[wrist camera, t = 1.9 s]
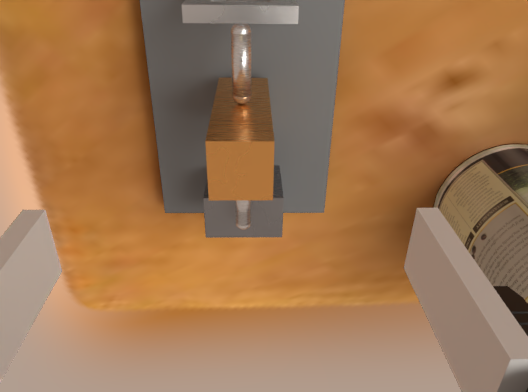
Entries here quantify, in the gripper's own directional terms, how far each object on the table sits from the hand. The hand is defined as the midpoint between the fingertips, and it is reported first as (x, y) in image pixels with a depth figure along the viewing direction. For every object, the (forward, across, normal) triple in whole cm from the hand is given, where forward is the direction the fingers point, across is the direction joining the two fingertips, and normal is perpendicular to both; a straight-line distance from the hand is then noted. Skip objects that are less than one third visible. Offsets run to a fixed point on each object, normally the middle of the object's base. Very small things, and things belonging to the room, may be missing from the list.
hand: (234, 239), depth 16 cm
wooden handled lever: (+14, 0, 0) cm, 14 cm away
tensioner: (+15, 0, -6) cm, 16 cm away
